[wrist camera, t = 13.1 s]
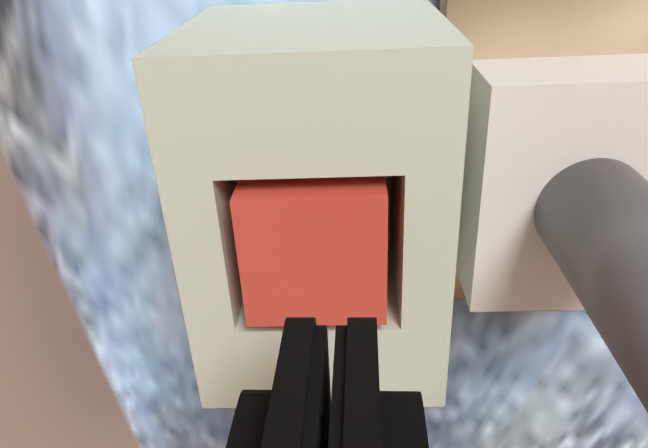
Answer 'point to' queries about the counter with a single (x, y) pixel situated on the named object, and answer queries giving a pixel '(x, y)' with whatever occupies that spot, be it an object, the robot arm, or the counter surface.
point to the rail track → (548, 31)
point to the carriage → (560, 195)
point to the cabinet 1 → (311, 164)
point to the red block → (312, 248)
